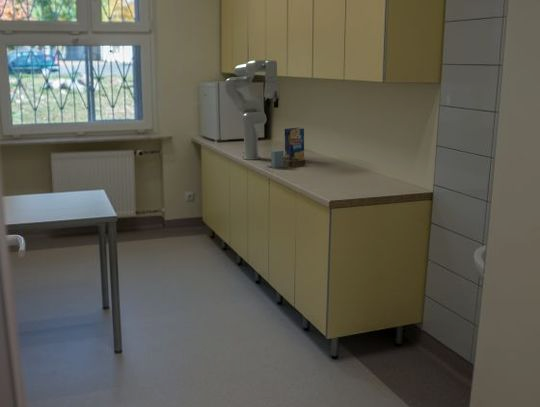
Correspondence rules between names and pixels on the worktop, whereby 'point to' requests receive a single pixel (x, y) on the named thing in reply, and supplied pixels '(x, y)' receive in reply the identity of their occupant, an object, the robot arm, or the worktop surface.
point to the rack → (294, 162)
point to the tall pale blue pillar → (277, 158)
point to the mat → (278, 167)
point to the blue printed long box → (294, 143)
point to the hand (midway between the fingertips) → (271, 107)
